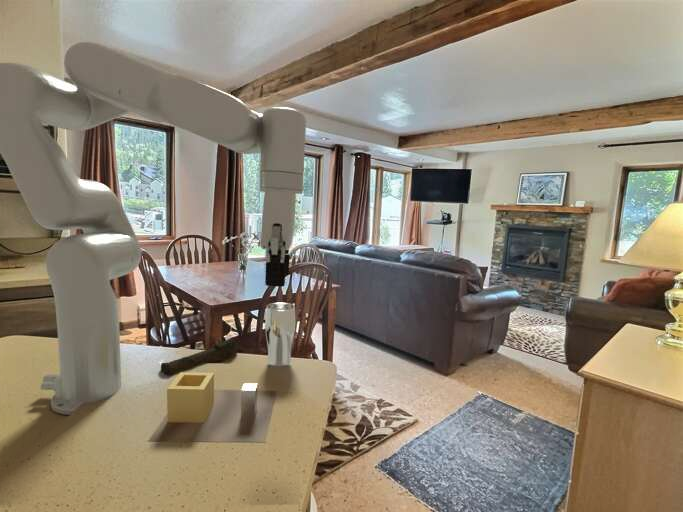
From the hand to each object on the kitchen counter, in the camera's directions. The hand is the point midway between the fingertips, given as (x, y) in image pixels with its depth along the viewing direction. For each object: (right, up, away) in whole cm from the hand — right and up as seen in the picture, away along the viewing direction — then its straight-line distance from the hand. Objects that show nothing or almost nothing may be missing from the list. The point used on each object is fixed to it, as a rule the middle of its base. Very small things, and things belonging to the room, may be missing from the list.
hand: (277, 279), depth 66 cm
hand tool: (-21, -22, +20) cm, 37 cm away
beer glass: (-3, -22, +21) cm, 31 cm away
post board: (-10, -25, -1) cm, 27 cm away
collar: (-15, -23, -2) cm, 28 cm away
